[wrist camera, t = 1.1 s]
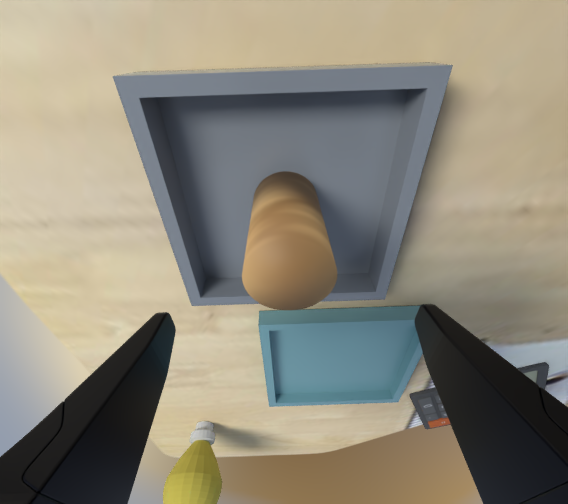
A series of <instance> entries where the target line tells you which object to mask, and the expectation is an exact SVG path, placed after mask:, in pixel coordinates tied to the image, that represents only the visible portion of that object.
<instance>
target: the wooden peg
mask: <svg viewBox="0 0 568 504" xmlns="http://www.w3.org/2000/svg"><path fill="white" fill-rule="evenodd" d="M336 280H337V267H336V264H335V260H334V256H333V252H332V249H331V245H330V241H329V238H328V234H327V230H326V226H325V223H324V219H323V215H322V212H321V208H320V204H319V201H318V197H317V193H316V190H315V188H314V186H313V185H312V183H311V182H310V181H309V180H308V179H307V178H306V177H304V176H302V175H300V174H298V173H295V172H289V171H283V172H277V173H274V174H271V175H269V176H268V177H266V178H265V179H264V180H262V181H261V183H260V184H259V185H258V187H257V188H256V191H255V194H254V199H253V205H252V212H251V218H250V225H249V231H248V238H247V244H246V251H245V258H244V264H243V271H242V281H243V285H244V287H245V289H246V291H247V293H248V294H249V295H250V296H251V297H252V298H253V299H254V300H256V301H257V302H258V303H260V304H262V305H264V306H267V307H269V308H273V309H278V310H299V309H303V308H307V307H310V306H313V305H315V304H317V303H318V302H320V301H322V300H323V299H324V298H326V297H327V296H328V295H329V294H330V292H331V291H332V290H333V288H334V286H335V284H336Z"/></svg>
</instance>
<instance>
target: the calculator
mask: <svg viewBox="0 0 568 504" xmlns="http://www.w3.org/2000/svg"><path fill="white" fill-rule="evenodd" d="M548 369H549V365H548V364H547V363H545V362H544V363H539V364H535V365H531V366H526V367H522V368H518V370H520V371H521V372H522V373H523V374H525V375H526V376H527V377H529V378H530V379H531V380H533V381H534V382H535V383H536V384H538V385H539V387H542V388H543V389H544V390H545V386H546V380H547V375H548ZM410 398H411V400H412V402H413V404H414V406H415V408H416V410H417V412H418V414H419V417H420V419H421V421H422V423H423V425H424V427H425V429H431V428H436V427H441V426H446V425H451V424H450V421H449V419H448V417H447V414H446V412H445V409H444V407H443V404H442V402H441V400H440V397H439V395H438V392H437V390H436V388H432V389H428V390H423V391H419V392H415V393H411V394H410Z"/></svg>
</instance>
